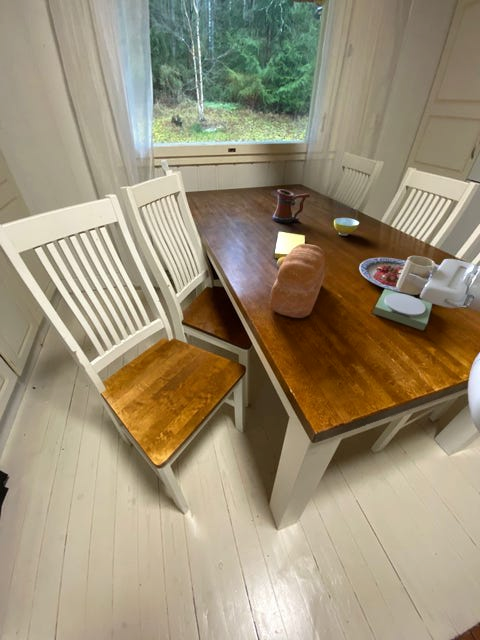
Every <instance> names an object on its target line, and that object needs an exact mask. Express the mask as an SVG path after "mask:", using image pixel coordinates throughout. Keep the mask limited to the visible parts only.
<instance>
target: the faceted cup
mask: <svg viewBox="0 0 480 640" xmlns="http://www.w3.org/2000/svg"><path fill="white" fill-rule="evenodd" d="M405 261H406V263H405V265H404V268H403V270H402V272H401V275H400V277H399V279H398V282H397V284H396V287H397V289H398V290H400V291H402V292H404V293H403V294H406V295H410V296H415V295H416V296H418V295H421V292H422V290H423V289H422V288H419V287H418V286H417V285H415V284H414V283H413V282H410V281H407V280H406V279H407V276H408V275H409V274H410V273H411V272H412V273H415V274H418V275H417V276H419V277H421V278H423V279H424V278H427V279H429V277H430V275H431V274H432V271H433V269H434V267H435V264H436V262H435V261H434V260H432V259H431V258H429V257H425V256H421V255H410V256H408V257H407V259H406V260H405ZM402 292H401V293H402Z"/></svg>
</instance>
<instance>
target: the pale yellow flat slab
mask: <svg viewBox="0 0 480 640" xmlns="http://www.w3.org/2000/svg"><path fill="white" fill-rule="evenodd" d="M305 237H306V235H303V234H297V233H291V232H284V231H278V234H277V240H276V245H275V251H274V259H280V258H281V257H286V256H287V255H288V254H289V253H290V252H291V250H292V249H293V248H294V247H296V246H297V245H300V244H306V243H305V242H306V240H305Z"/></svg>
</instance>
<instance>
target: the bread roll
mask: <svg viewBox="0 0 480 640" xmlns="http://www.w3.org/2000/svg"><path fill="white" fill-rule="evenodd" d="M284 259H285V257H281V258H278V259H277V262H276V267H277V268H278V269H279V268H280V267H281V265H282V263H283V261H284Z"/></svg>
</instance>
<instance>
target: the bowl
mask: <svg viewBox="0 0 480 640" xmlns="http://www.w3.org/2000/svg"><path fill="white" fill-rule="evenodd" d="M359 224H360V221H358V220H356V219H355V218H349V217H337V218H335V219H333V227H334V229H335V230H336V231H337V232H338V235H340V236H344V237H345V236H349V234H351V233H353V232H354V231H356V230H357V228H358V227H359Z"/></svg>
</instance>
